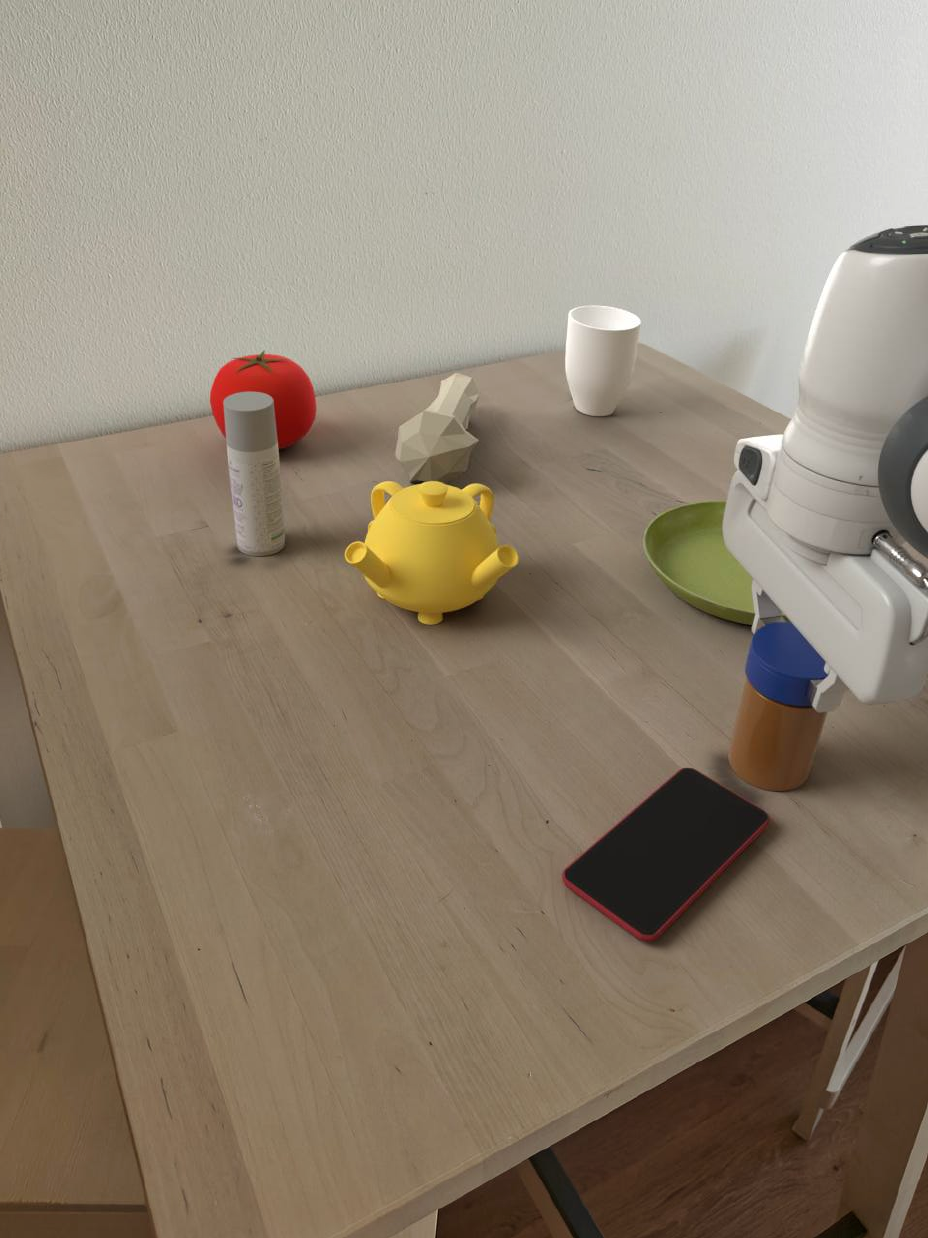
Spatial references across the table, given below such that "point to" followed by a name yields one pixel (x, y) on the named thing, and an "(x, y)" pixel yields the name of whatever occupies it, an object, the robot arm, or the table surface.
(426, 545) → the teapot
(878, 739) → the table surface
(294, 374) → the tomato
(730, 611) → the saucer
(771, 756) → the jar
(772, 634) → the jar lid
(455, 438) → the faceted club
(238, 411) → the container
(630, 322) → the mug
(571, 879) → the smartphone
